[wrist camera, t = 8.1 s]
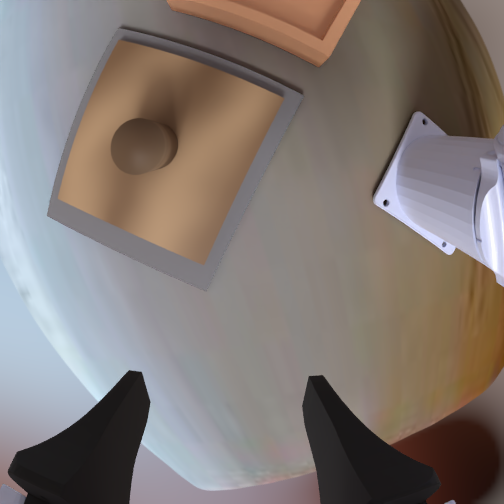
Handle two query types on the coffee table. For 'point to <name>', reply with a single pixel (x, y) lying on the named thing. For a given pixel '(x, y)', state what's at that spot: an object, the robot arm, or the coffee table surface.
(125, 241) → the mat
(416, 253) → the coffee table surface
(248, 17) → the dish
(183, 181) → the lid
